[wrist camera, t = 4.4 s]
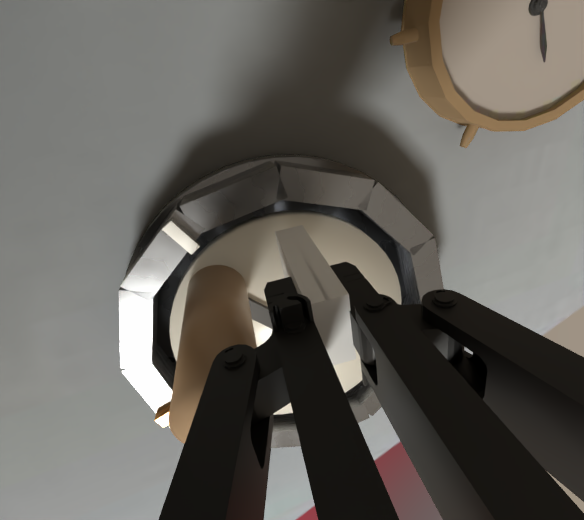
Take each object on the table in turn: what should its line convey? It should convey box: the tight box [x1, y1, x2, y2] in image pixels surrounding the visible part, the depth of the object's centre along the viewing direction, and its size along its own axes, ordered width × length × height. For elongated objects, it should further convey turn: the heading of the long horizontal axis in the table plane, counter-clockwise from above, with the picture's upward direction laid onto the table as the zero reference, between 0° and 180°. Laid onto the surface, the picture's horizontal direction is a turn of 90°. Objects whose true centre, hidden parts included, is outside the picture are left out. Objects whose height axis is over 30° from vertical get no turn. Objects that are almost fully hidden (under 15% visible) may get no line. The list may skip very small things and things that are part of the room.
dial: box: [168, 210, 401, 444], centre depth 18 cm, size 14×14×10 cm
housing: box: [119, 154, 444, 448], centre depth 21 cm, size 20×20×4 cm
